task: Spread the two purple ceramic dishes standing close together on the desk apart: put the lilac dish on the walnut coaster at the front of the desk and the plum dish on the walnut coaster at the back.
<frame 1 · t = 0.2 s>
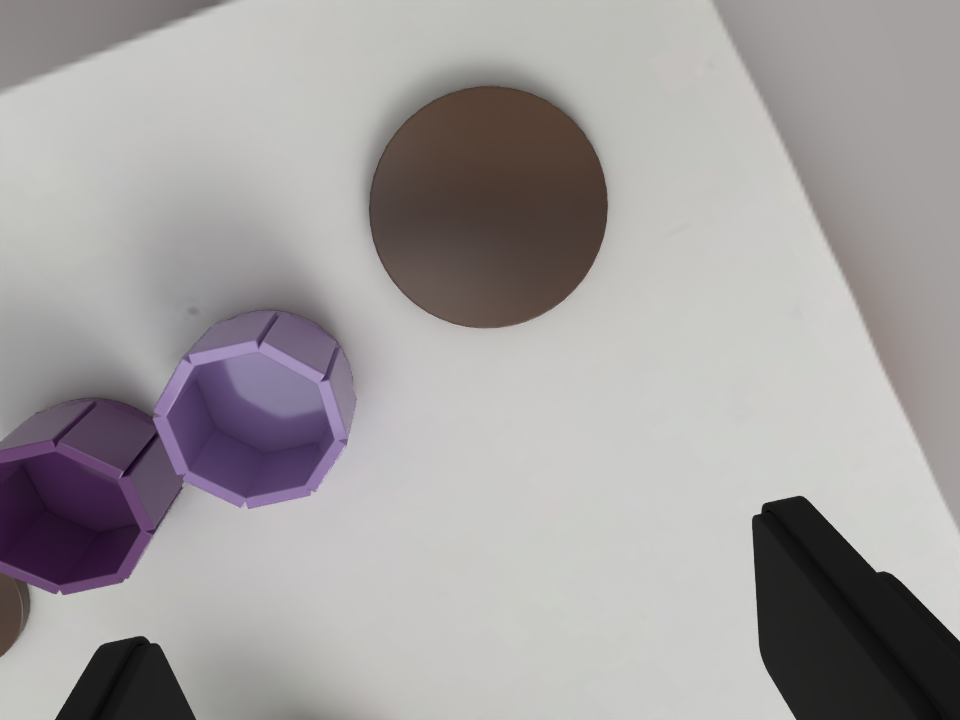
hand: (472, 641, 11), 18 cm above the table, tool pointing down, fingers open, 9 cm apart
dish lilac: (274, 384, 28), on the table
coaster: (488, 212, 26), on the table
dish plum: (105, 466, 29), on the table
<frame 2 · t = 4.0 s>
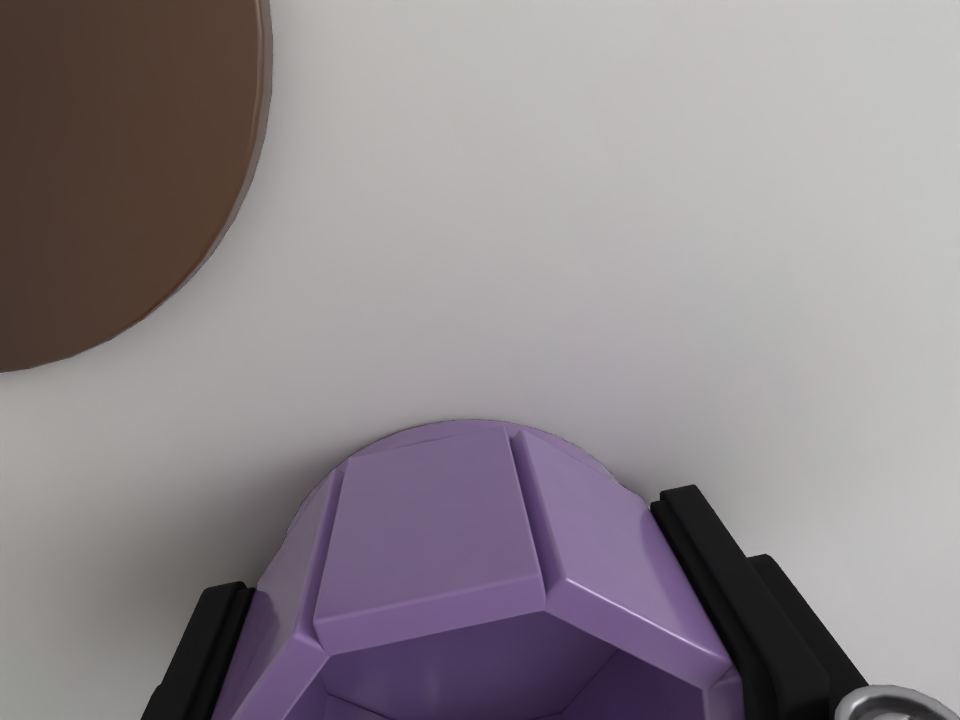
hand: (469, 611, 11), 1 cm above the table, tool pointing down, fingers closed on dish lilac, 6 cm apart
dish lilac: (467, 584, 12), on the table, touching gripper
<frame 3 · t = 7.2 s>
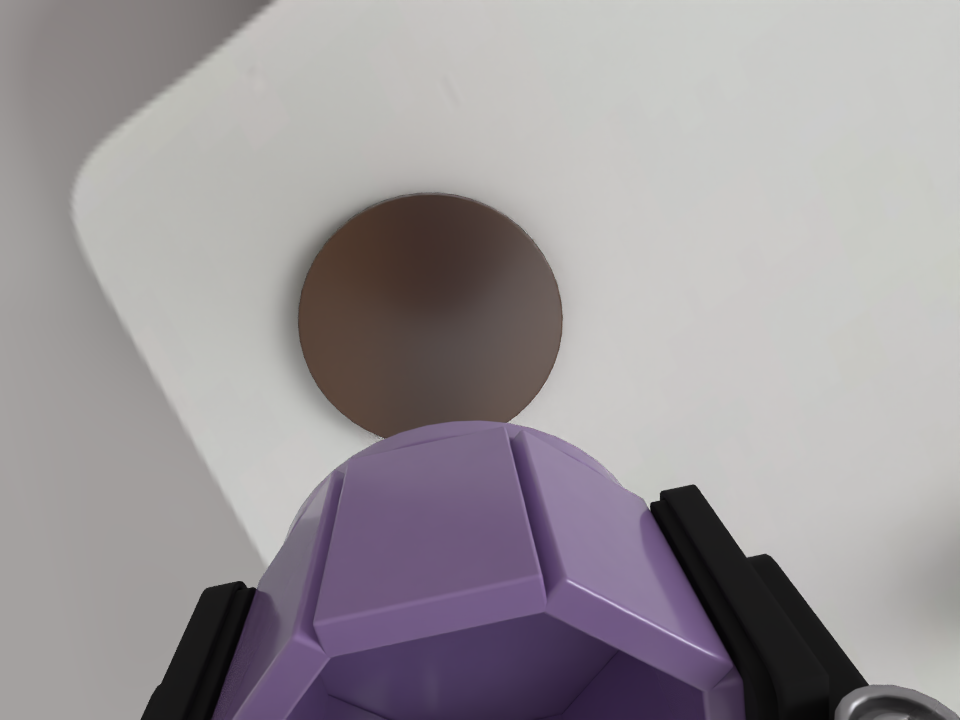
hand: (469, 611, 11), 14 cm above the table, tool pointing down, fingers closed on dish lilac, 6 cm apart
dish lilac: (467, 585, 12), point 13 cm above the table, touching gripper
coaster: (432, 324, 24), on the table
when the fingers open (1 cm above the table, at t = 10.6 s): dish lilac stays where it is, resting on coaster.
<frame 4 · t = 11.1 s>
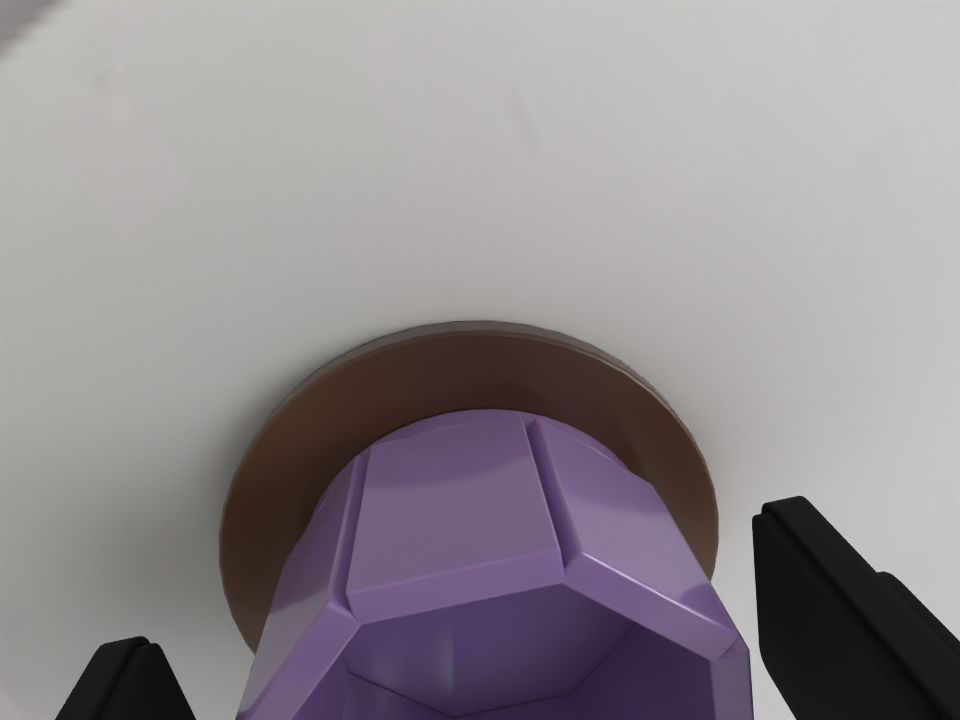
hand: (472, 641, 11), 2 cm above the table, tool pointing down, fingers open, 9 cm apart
dish lilac: (482, 568, 12), point 1 cm above the table, touching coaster
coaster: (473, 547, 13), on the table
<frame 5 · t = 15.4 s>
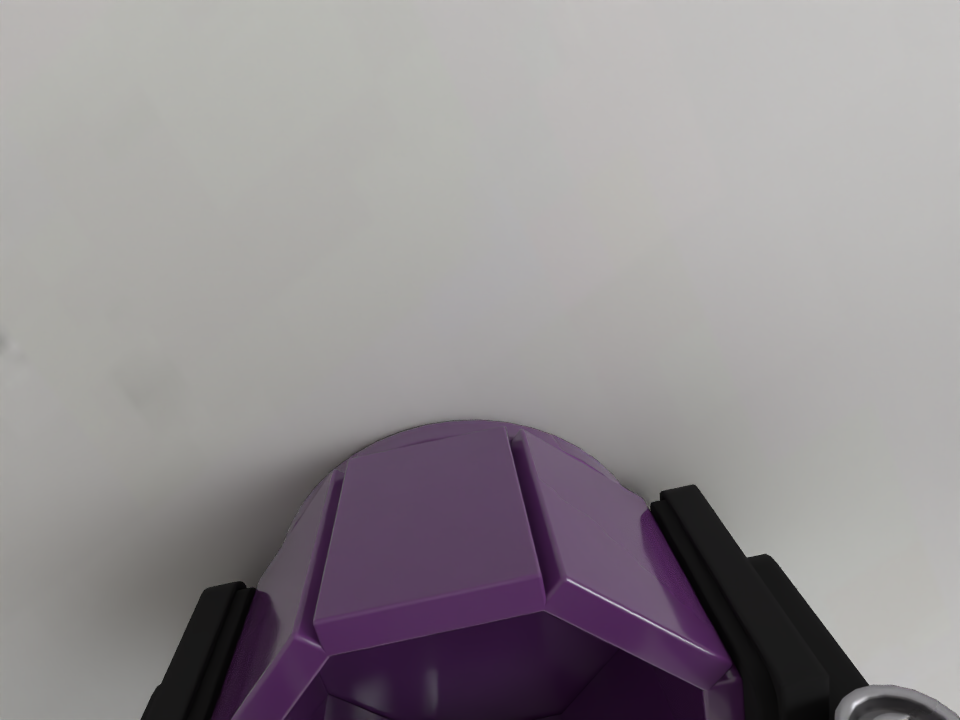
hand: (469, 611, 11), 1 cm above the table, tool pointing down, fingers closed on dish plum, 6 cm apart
dish plum: (467, 584, 12), on the table, touching gripper
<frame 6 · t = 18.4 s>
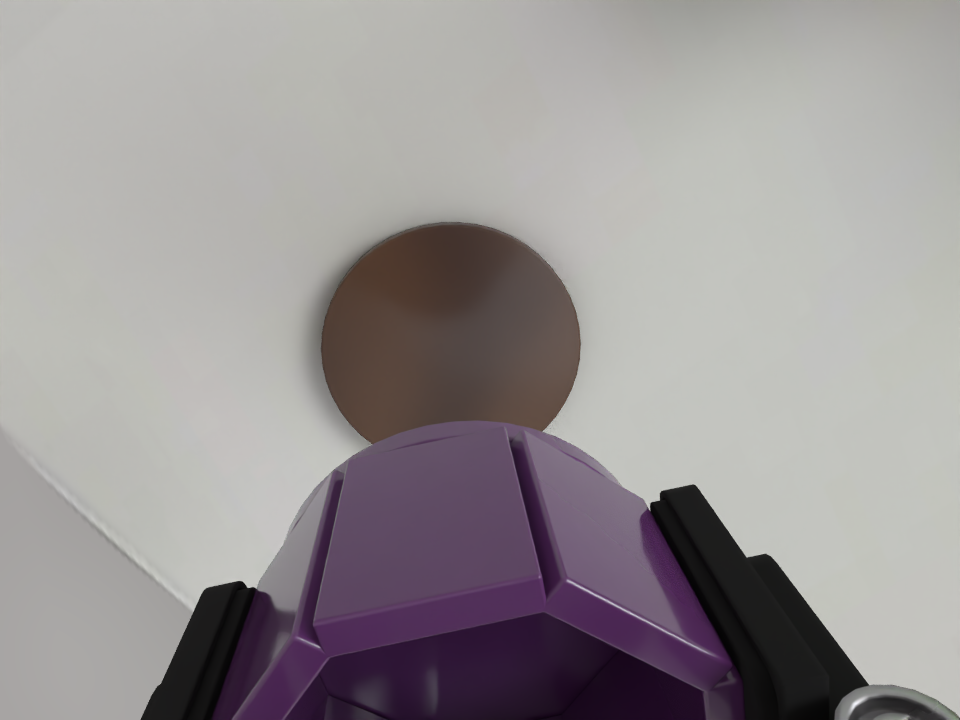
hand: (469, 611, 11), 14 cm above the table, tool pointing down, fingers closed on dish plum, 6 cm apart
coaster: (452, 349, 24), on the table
dish plum: (467, 585, 12), point 13 cm above the table, touching gripper
when the fingers open (1 cm above the table, at t = 21.7 s): dish plum stays where it is, resting on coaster.
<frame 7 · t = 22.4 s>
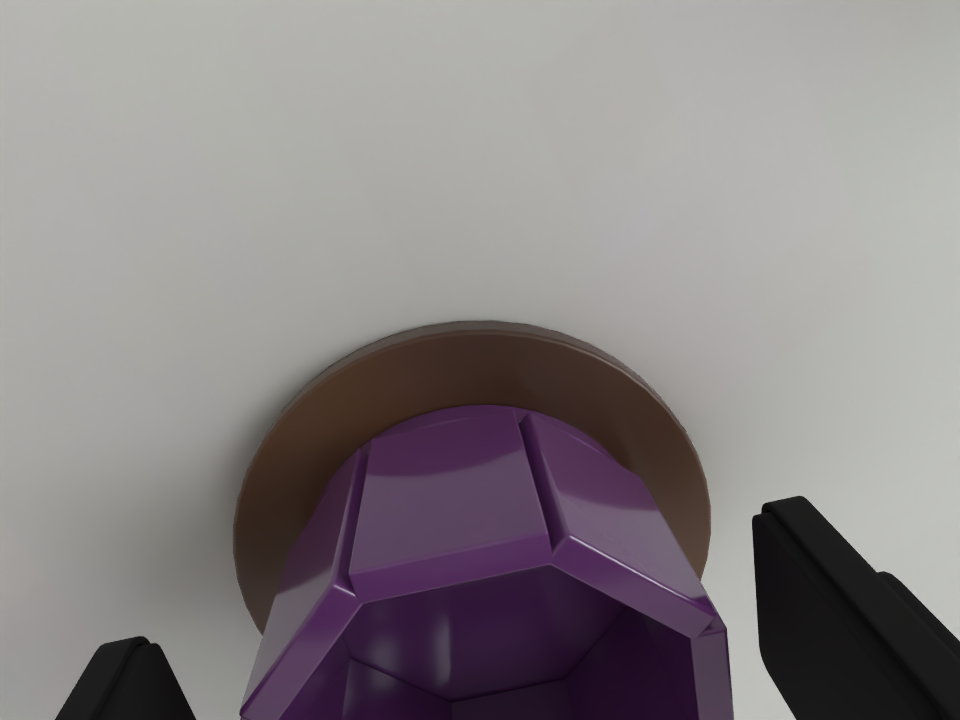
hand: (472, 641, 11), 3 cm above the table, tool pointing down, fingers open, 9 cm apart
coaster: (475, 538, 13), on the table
dish plum: (478, 557, 13), point 1 cm above the table, touching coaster
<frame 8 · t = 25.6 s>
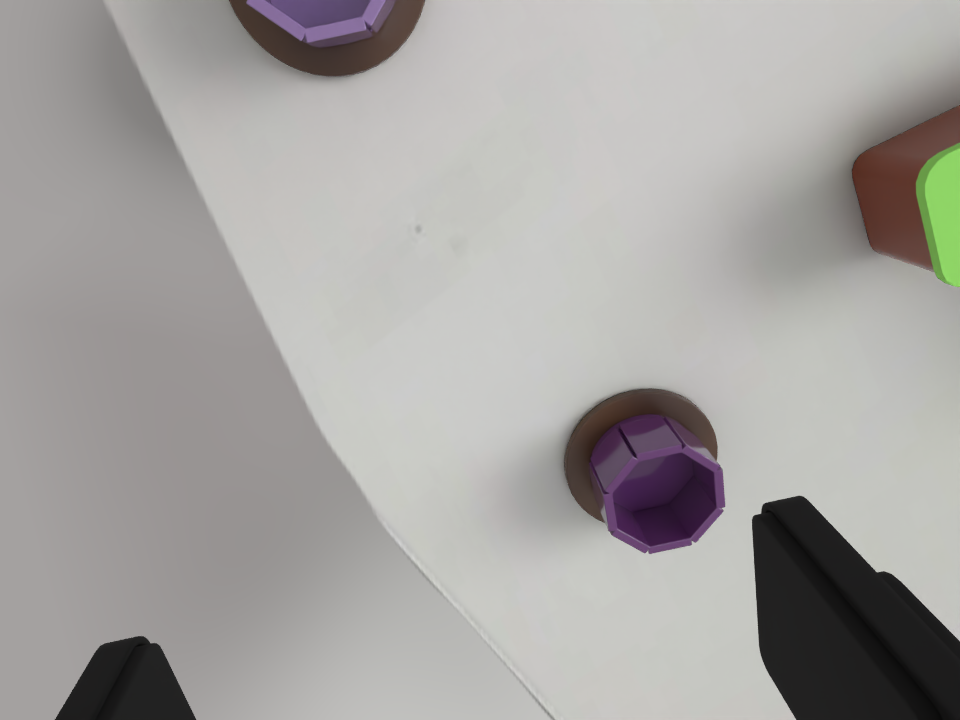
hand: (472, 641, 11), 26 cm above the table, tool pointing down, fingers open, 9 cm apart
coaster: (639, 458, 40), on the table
dish plum: (642, 463, 40), point 1 cm above the table, touching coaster
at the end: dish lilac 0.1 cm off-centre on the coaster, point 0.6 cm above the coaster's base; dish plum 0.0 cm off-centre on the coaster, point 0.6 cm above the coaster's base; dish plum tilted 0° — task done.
